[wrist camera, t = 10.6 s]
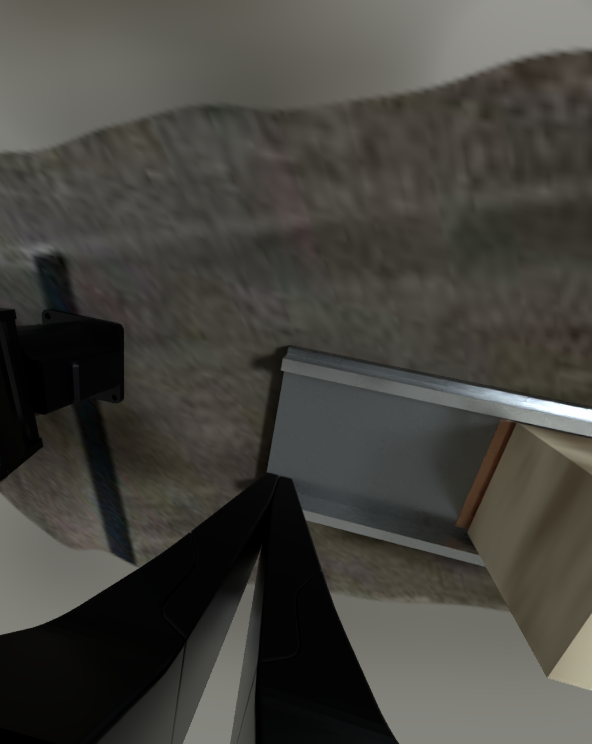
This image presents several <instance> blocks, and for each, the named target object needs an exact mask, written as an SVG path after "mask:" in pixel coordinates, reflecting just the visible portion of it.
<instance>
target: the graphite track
mask: <svg viewBox="0 0 592 744" xmlns="http://www.w3.org/2000/svg"><path fill="white" fill-rule="evenodd" d="M281 371H284V375H283V381H282V387H281V393H280V399H279V404H278V410H277V416H276V422H275V428H274V433H273V439H272V445H271V451H270V456H269V462H268V468H267V472H269V473H273V474H277V475H279V478H280V476H284V477H288V478H291V479H292V480H293V482H294V485H295V488H296V491H297V494H298V497H299V501H300V504H301V507H302V510H303V513H304V516H305V519H306V520H308V521H312V522H315V523H319V524H323V525H327V526H331V527H335V528H338V529H342V530H346V531H350V532H354V533H358V534H361V535H365V536H369V537H373V538H377V539H381V540H384V541H388V542H392V543H396V544H400V545H404V546H407V547H411V548H415V549H419V550H423V551H427V552H431V553H434V554H438V555H442V556H446V557H450V558H454V559H457V560H461V561H465V562H469V563H473V564H477V565H480V566H484V567H486V566H485V564H484V562H483V560H482V559H481V557H480V555H479V553H478V551H477V550H476V548H475V546H474V544H473V542H472V540H471V539H470V537H469V535H468V533H467V532H468V530H469V528H470V526H471V523H472V521H473V519H474V517H475V514H476V512H477V510H478V508H479V506H480V503H481V501H482V499H483V497H484V494H485V492H486V490H487V488H488V486H489V483H490V481H491V479H492V477H493V475H494V472H495V470H496V468H497V466H498V463H499V461H500V459H501V457H502V455H503V452H504V450H505V448H506V446H507V444H508V441H509V439H510V437H511V435H512V432H513V430H514V428H515V426H516V424H517V423H522V424H526V425H531V426H536V427H540V428H545V429H550V430H554V431H559V432H564V433H568V434H573V435H578V436H583V437H587V438H592V407H591V406H586V405H581V404H576V403H571V402H566V401H561V400H556V399H551V398H547V397H542V396H537V395H532V394H527V393H522V392H517V391H512V390H507V389H503V388H498V387H493V386H488V385H483V384H478V383H473V382H468V381H463V380H459V379H454V378H449V377H444V376H439V375H434V374H429V373H424V372H419V371H414V370H410V369H405V368H400V367H395V366H390V365H385V364H380V363H375V362H370V361H366V360H361V359H356V358H351V357H346V356H341V355H336V354H331V353H326V352H322V351H317V350H312V349H307V348H302V347H297V346H292V345H290V346H289V347H288V352H287V354H286V355H285V357H284V358H283V361H282V367H281Z"/></svg>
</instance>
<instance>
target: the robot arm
mask: <svg viewBox="0 0 592 744" xmlns="http://www.w3.org/2000/svg"><path fill="white" fill-rule="evenodd" d="M50 316H51V317H50ZM15 319H17V318H16V313H15V309H6V308H0V482H2V481H3V480H4V479H5V478H6V477H7V476H8V475H9V474H10V473H11V472H13V471H14V470H15V469H16V468H18V467H19V466H20V465H21V464H22V463H24V462H25V461H26V460H27V459H28V458H30V457H31V456H32V455H33V454H35V453H36V452H37V451H38V450H39V449H41V448H42V447H43V443H42V438H39V433H38V429H37V424H36V419H35V416H37V415H40V414H43V415H45V414H48V413H50V412H53V411H55V410H58V409H60V408H63V407H65V406H68V405H70V404H73V403H75V402H80V401H83V400H85V399H88V398H95V399H99V400H103V401H107V402H112V403H119V402H121V401H122V400H123V399H124V329H123V327H122V325H121V324H119V323H115V322H111V321H106V320H101V319H96V318H91V317H87V316H82V315H77V314H72V313H67V312H63V311H58V310H53V309H48V310H44V311H43V312H42V321H43V324H37V325H27V326H16V324H15ZM115 328H116V329H117V332H116V331H115ZM115 395H116V396H117V398H116V396H115ZM261 546H262V547H261ZM260 549H261V552H260ZM259 552H260V557H259V563H258V570H257V576H256V582H255V589H254V596H253V602H252V608H251V614H250V621H249V628H248V634H247V640H246V647H245V653H244V659H243V666H242V673H241V679H240V685H239V691H238V698H237V704H236V711H235V717H234V723H233V730H232V736H231V743H230V744H399V743H398V741H397V740H396V738H395V737H394V735H393V733H392V732H391V730H390V728H389V727H388V725H387V723H386V721H385V719H384V717H383V715H382V714H381V711H380V709H379V707H378V705H377V703H376V700H375V698H374V696H373V694H372V692H371V689H370V687H369V685H368V682H367V680H366V678H365V676H364V673H363V671H362V669H361V667H360V664H359V662H358V660H357V658H356V655H355V653H354V651H353V649H352V647H351V644H350V642H349V640H348V638H347V635H346V633H345V631H344V628H343V626H342V623H341V621H340V619H339V617H338V614H337V612H336V609H335V607H334V604H333V601H332V598H331V595H330V593H329V590H328V587H327V584H326V581H325V578H324V575H323V572H322V571H321V566H320V563H319V559H318V556H317V553H316V550H315V547H314V544H313V541H312V538H311V535H310V532H309V528H308V525H307V522H306V519H305V516H304V513H303V510H302V507H301V504H300V501H299V497H298V494H297V491H296V488H295V485H294V482H293V480H292V479H291V478H288V477H284V476H280V478H279V475H277V474H273V473H269V472H267V473H266V474H264V475H263V476H262V477H260V478H259V479H258V480H257V481H255V482H254V483H253V484H251V485H250V486H249V487H248V488H246V489H245V490H244V491H242V492H241V493H240V494H239V495H237V496H236V497H235V498H233V499H232V500H231V501H230V502H228V503H227V504H226V505H224V506H223V507H222V508H220V509H219V510H218V511H217V512H215V513H214V514H213V515H211V516H210V517H209V518H208V519H206V520H205V521H204V522H202V523H201V524H200V525H199V526H197V527H196V528H195V529H193V530H192V531H191V533H188V534H187V535H185V536H184V537H183V538H182V539H180V540H179V541H178V542H176V543H175V544H174V545H172V546H171V547H170V548H168V549H167V550H165V551H164V552H163V553H161V554H160V555H158V556H157V557H155V558H154V559H152V560H151V561H149V562H148V563H146V564H145V565H143V566H142V567H140V568H139V569H137V570H136V571H134V572H132V573H131V574H129V575H128V576H126V577H124V578H123V579H121V580H120V581H118V582H116V583H115V584H113V585H112V586H110V587H108V588H107V589H105V590H104V591H102V592H101V593H99V594H97V595H96V596H94V597H92V598H91V599H89V600H88V601H86V602H84V603H83V604H81V605H80V606H78V607H76V608H75V609H73V610H71V611H70V612H68V613H66V614H64V615H62V616H60V617H58V618H56V619H54V620H52V621H49V622H47V623H44V624H42V625H39V626H36V627H33V628H29V629H25V630H20V631H16V632H12V633H8V634H3V635H0V744H183V741H184V739H185V736H186V734H187V732H188V729H189V727H190V724H191V722H192V719H193V717H194V714H195V712H196V709H197V707H198V704H199V702H200V699H201V697H202V694H203V692H204V689H205V687H206V684H207V682H208V679H209V677H210V674H211V672H212V669H213V667H214V665H215V662H216V660H217V657H218V655H219V652H220V650H221V647H222V645H223V642H224V640H225V637H226V635H227V632H228V630H229V627H230V625H231V622H232V620H233V617H234V615H235V612H236V610H237V607H238V605H239V602H240V600H241V598H242V595H243V593H244V590H245V587H246V585H247V583H248V580H249V578H250V575H251V573H252V570H253V568H254V565H255V563H256V560H257V558H258V555H259Z"/></svg>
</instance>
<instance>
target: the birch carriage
mask: <svg viewBox="0 0 592 744" xmlns="http://www.w3.org/2000/svg"><path fill="white" fill-rule="evenodd" d="M467 533H468V535H469V537H470V539H471V540H472V542H473V544H474V546H475V548H476V550H477V551H478V553H479V555H480V557H481V559H482V560H483V562H484V564H485V566H486V568H487V570H488V571H489V573H490V575H491V577H492V579H493V580H494V582H495V584H496V586H497V588H498V589H499V591H500V593H501V595H502V597H503V599H504V600H505V602H506V604H507V606H508V608H509V609H510V611H511V613H512V615H513V617H514V618H515V620H516V622H517V624H518V626H519V628H520V629H521V631H522V633H523V635H524V636H525V638H526V640H527V642H528V644H529V646H530V647H531V649H532V651H533V653H534V655H535V657H536V658H537V660H538V662H539V664H540V666H541V667H542V669H543V671H544V673H545V675H546V677H547V678H549V679H553V680H557V681H560V682H563V683H567V684H571V685H574V686H577V687H581V688H584V689H587V690H591V691H592V438H587V437H583V436H578V435H573V434H568V433H564V432H559V431H554V430H550V429H545V428H540V427H536V426H531V425H526V424H522V423H517V424H516V426H515V428H514V430H513V432H512V435H511V437H510V439H509V441H508V444H507V446H506V448H505V450H504V452H503V455H502V457H501V459H500V461H499V463H498V466H497V468H496V470H495V472H494V475H493V477H492V479H491V481H490V483H489V486H488V488H487V490H486V492H485V494H484V497H483V499H482V501H481V503H480V506H479V508H478V510H477V512H476V514H475V517H474V519H473V521H472V523H471V526H470V528H469V530H468V532H467Z"/></svg>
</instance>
